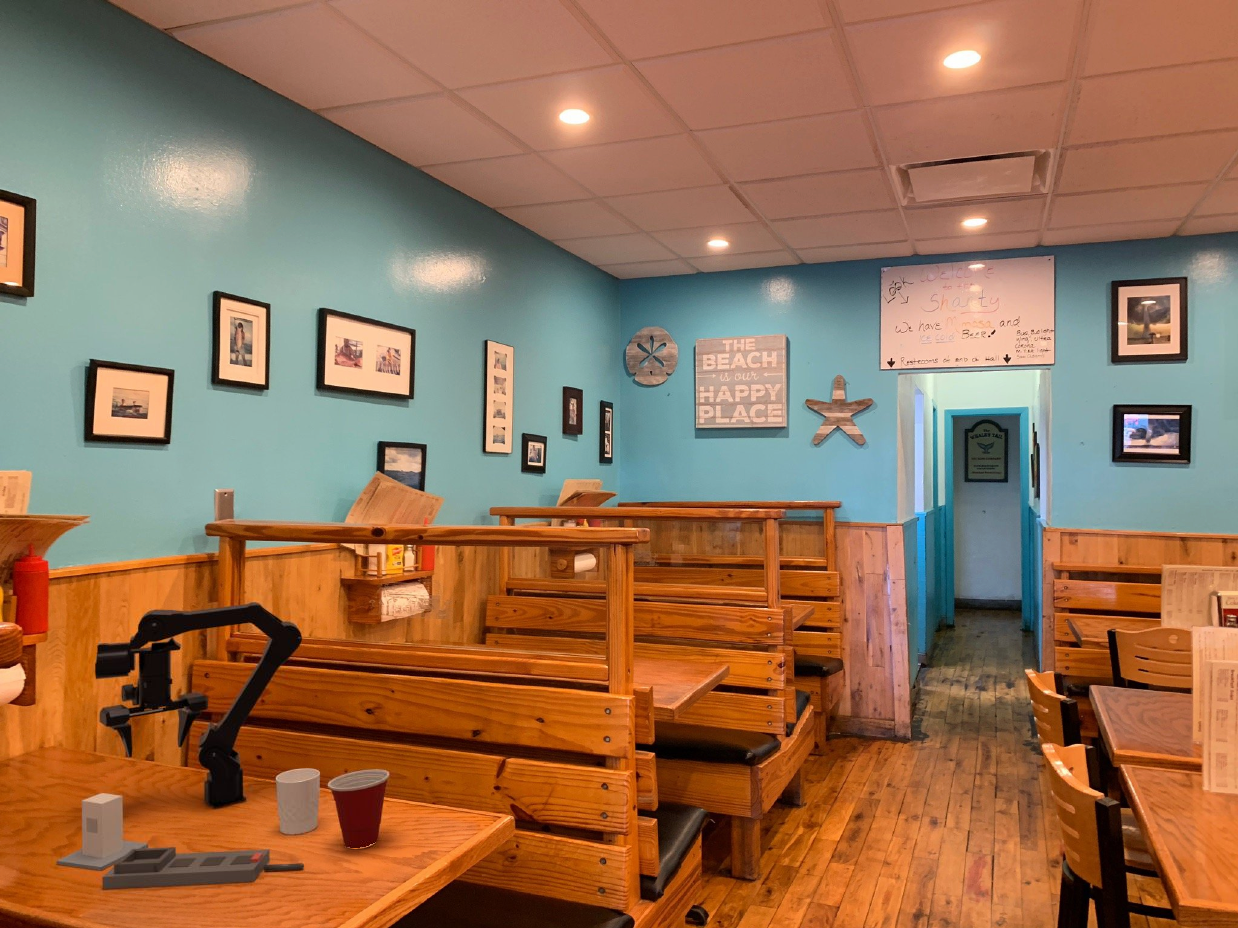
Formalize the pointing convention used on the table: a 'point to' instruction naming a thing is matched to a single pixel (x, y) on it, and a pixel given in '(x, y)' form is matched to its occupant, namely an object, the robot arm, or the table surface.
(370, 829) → the plastic cup
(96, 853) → the block
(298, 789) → the white cup
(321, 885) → the table surface
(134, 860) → the power strip
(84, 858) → the pad
